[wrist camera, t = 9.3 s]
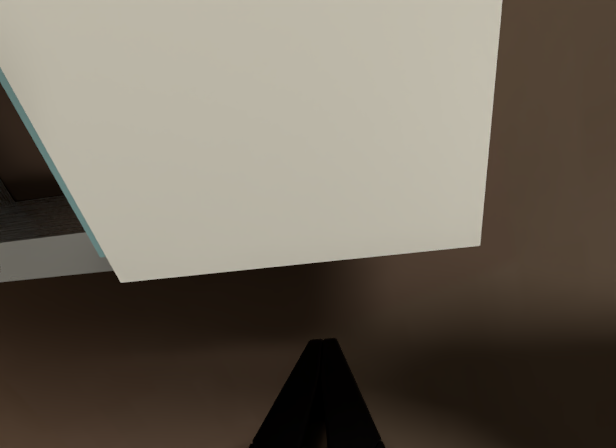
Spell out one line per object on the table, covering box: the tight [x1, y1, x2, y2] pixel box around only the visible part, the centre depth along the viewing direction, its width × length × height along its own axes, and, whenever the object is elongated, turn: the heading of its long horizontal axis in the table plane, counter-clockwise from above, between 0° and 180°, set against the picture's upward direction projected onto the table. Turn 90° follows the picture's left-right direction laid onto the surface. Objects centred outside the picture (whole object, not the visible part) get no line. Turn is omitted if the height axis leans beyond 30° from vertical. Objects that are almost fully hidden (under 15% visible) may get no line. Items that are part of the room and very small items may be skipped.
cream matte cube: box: [0, 0, 502, 283], centre depth 5 cm, size 5×5×5 cm
